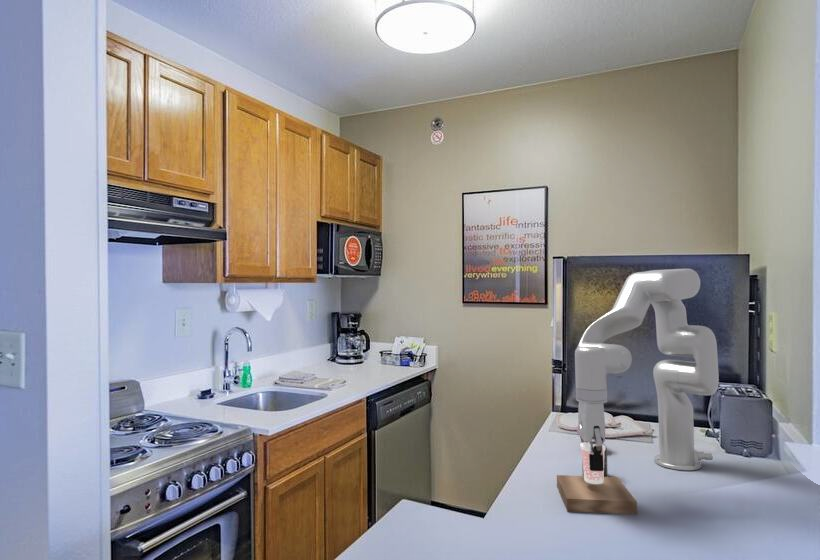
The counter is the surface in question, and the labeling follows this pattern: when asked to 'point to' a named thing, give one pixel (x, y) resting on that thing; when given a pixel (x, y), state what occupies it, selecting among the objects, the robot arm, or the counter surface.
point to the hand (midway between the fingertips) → (593, 465)
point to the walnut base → (595, 495)
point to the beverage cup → (589, 475)
